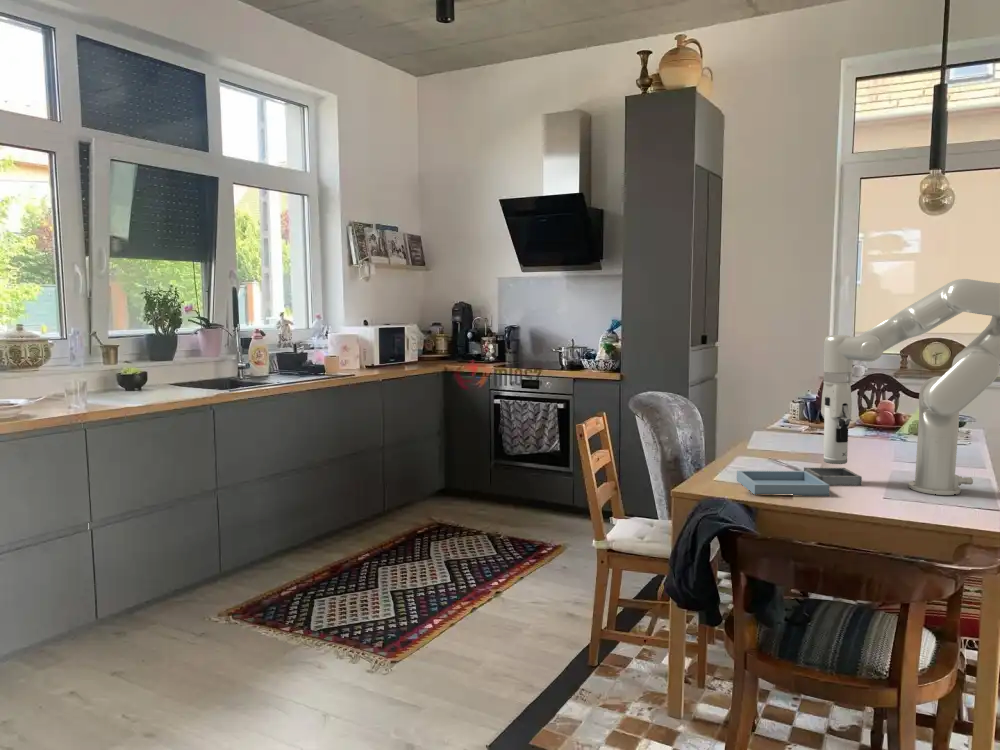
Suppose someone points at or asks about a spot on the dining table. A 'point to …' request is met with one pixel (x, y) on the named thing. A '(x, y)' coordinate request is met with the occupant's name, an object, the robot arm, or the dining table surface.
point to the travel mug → (833, 439)
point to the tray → (783, 483)
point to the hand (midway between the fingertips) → (836, 439)
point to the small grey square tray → (835, 476)
